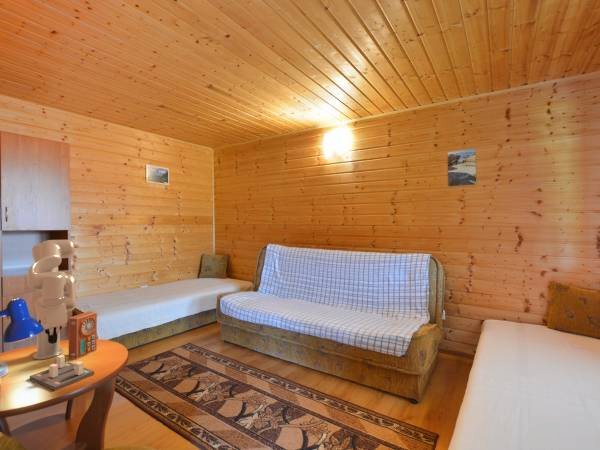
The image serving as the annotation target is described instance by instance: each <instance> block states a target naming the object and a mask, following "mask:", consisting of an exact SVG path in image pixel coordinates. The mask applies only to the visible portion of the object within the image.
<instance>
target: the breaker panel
mask: <svg viewBox="0 0 600 450" xmlns="http://www.w3.org/2000/svg"><path fill="white" fill-rule="evenodd" d="M93 375H95V371H94V370H92V369H88V368H87V367H84V366H83V374H81V375H77V374H75V363H72V362H70V361H69V362H65V367H62V368H58V376H57V377H54V378H52V377H50V376H49V368H48V369H46V370H43V371H40V372H37V373H34V374H31V375H29V381H32V382H34V383H37V384H39V385H41V386H44V387H46V388H48V389H51V390H53V391H58V390H61V389H63V388H66V387H68V386H70V385H73V384H74V383H77V382H81V381H82V380H85V379H87V378H89V377H91V376H93Z"/></svg>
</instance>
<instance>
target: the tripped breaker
mask: <svg viewBox="0 0 600 450" xmlns="http://www.w3.org/2000/svg"><path fill="white" fill-rule="evenodd" d="M48 369H49V376H50V377H52V378H54V377H57V376H58V365H57V363H52V364H50V365H49V368H48Z"/></svg>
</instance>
